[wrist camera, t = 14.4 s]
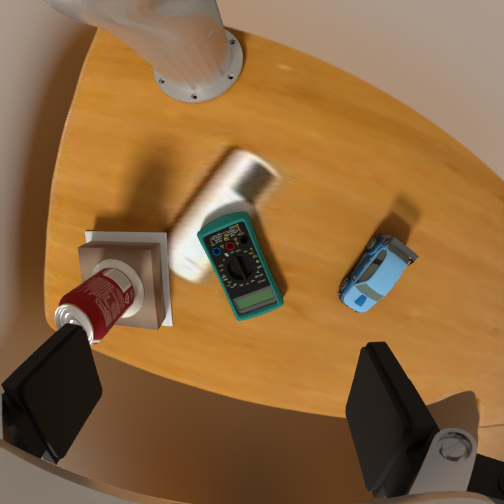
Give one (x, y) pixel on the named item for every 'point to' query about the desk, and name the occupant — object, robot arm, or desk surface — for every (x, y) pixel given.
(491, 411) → the desk surface
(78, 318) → the soda can
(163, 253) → the white square slab
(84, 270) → the plinth
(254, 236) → the digital multimeter
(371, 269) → the toy car
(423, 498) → the robot arm
